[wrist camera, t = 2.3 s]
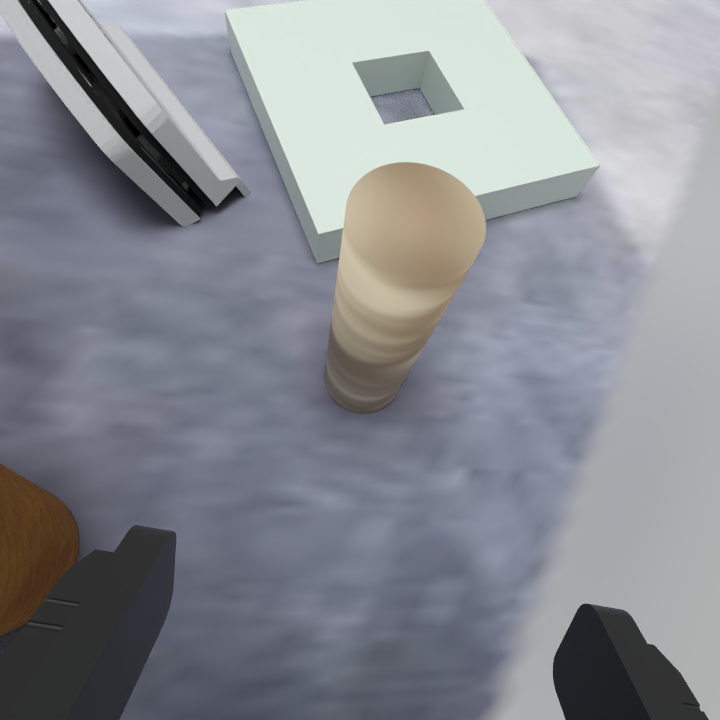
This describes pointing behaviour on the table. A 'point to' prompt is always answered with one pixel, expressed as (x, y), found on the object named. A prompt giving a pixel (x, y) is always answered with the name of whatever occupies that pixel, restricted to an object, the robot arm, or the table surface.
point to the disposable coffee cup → (31, 547)
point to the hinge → (123, 104)
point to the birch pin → (396, 276)
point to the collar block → (394, 74)
